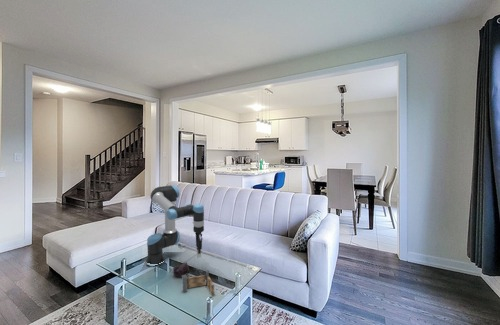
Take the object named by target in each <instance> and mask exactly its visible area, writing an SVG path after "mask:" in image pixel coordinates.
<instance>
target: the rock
mask: <svg viewBox="0 0 500 325" xmlns="http://www.w3.org/2000/svg"><path fill="white" fill-rule="evenodd" d="M187 262H188V261H187ZM187 262H183V263H180V264H178V265H176V266H175V267H173V276H174V277H175V278H176V277H180V278H182V275H187V274H188V272H189V271H190V267H189V264H188V263H187Z"/></svg>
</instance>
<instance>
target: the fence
mask: <svg viewBox="0 0 500 325" xmlns="http://www.w3.org/2000/svg"><path fill="white" fill-rule="evenodd" d="M206 287H207V289H208V290H209V293H210V294H211V296H212V297H213V296H215V284H214V282H213V280H212V279H211V277H210V275H209V276H207V286H206Z"/></svg>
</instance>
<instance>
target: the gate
mask: <svg viewBox="0 0 500 325" xmlns="http://www.w3.org/2000/svg"><path fill="white" fill-rule="evenodd" d="M201 286H202V287H203V286H206V274H203V275H196V276H189V277H187V290H188V289H190V288H191V289H192V288H195V287H201Z"/></svg>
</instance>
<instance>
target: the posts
mask: <svg viewBox="0 0 500 325" xmlns="http://www.w3.org/2000/svg"><path fill="white" fill-rule="evenodd" d="M207 276H209V277H210V271H209V270H207V269H206V270H205V286H206V287H207ZM187 278H188V276H187V274H186V275H182V277H181V280H182V293H184V294H185V293H187V292H188V289H187Z"/></svg>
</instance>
